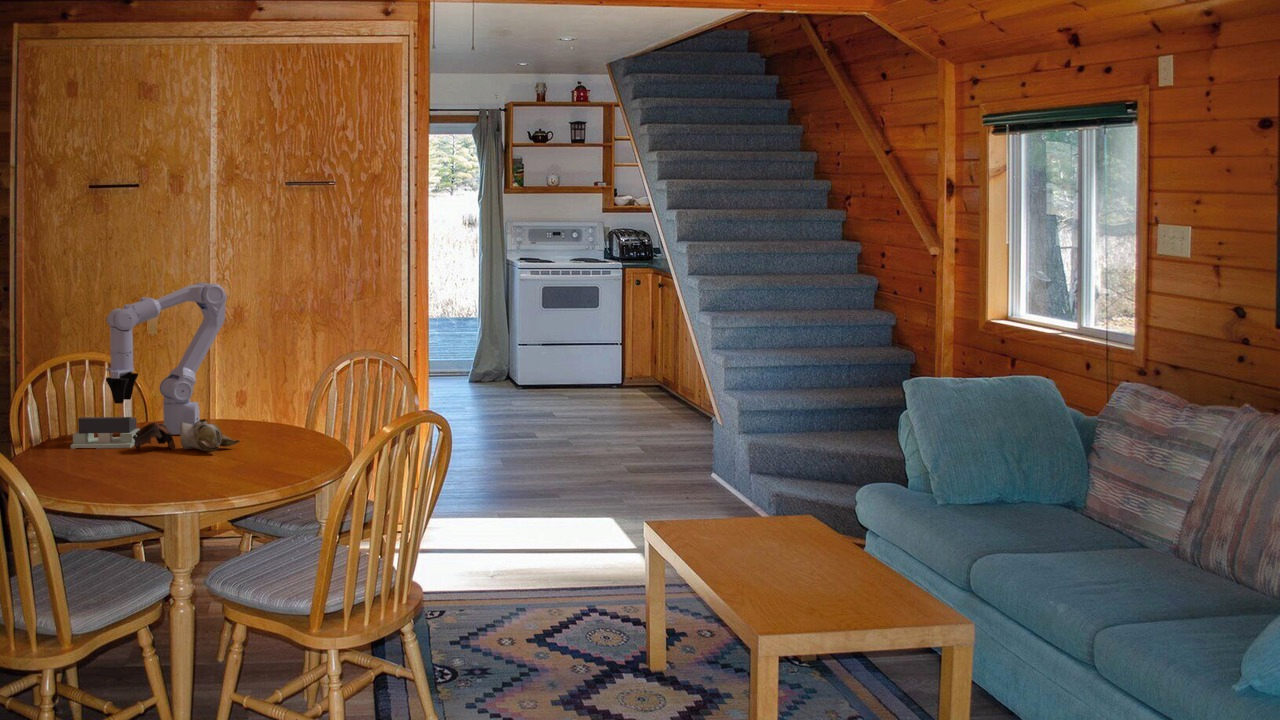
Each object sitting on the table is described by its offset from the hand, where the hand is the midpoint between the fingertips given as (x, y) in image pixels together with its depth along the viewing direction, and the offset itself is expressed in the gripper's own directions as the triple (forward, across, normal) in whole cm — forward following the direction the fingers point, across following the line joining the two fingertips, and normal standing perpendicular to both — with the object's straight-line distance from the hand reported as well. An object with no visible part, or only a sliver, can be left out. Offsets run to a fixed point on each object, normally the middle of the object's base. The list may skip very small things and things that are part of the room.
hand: (122, 401), depth 339 cm
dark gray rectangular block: (+7, +7, -2) cm, 10 cm away
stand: (+10, +10, -2) cm, 14 cm away
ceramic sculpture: (+11, +18, +26) cm, 33 cm away
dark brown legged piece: (+11, +16, +13) cm, 23 cm away
